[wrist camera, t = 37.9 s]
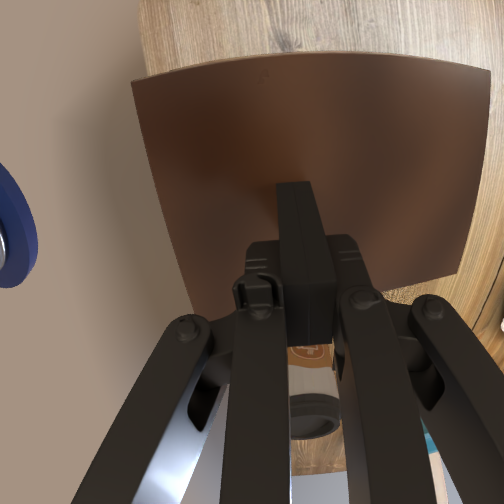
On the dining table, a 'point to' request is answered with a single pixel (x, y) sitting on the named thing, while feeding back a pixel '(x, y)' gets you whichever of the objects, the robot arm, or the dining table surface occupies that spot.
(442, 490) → the tall pillar cylinder
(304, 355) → the coffee cup
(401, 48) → the dining table surface
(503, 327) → the plate
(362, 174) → the lid
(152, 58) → the dining table surface
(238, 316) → the robot arm
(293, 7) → the dining table surface
